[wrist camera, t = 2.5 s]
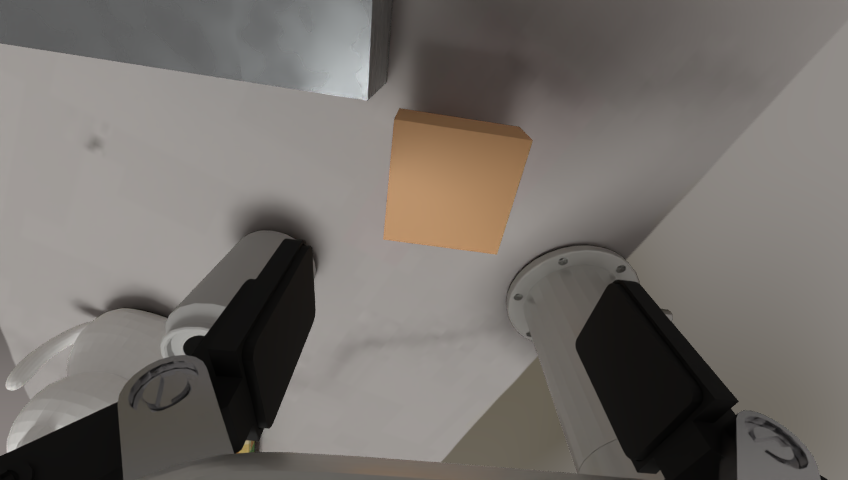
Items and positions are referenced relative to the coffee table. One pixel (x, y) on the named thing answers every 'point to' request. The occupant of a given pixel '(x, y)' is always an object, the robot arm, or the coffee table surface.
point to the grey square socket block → (220, 38)
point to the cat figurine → (85, 370)
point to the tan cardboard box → (452, 180)
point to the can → (218, 292)
